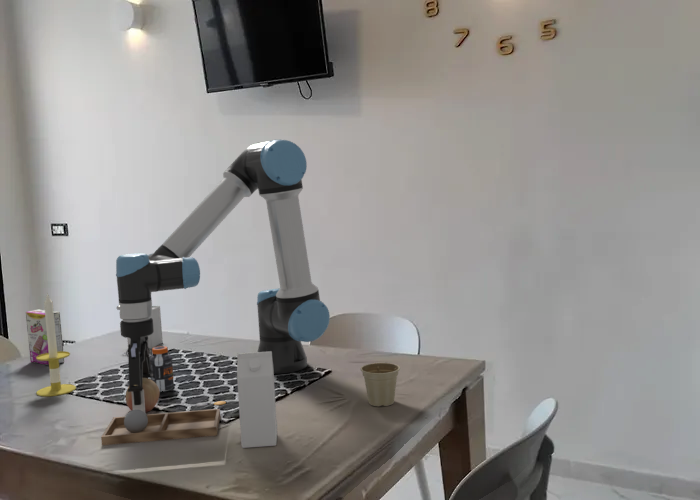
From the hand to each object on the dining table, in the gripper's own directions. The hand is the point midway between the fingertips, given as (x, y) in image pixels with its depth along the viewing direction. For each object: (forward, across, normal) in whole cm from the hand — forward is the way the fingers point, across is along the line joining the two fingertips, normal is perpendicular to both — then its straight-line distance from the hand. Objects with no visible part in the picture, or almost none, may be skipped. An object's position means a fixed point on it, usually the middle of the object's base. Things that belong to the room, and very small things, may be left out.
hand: (142, 410), depth 170 cm
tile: (0, 0, +16) cm, 16 cm away
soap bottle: (0, -71, -11) cm, 72 cm away
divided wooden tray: (0, +16, +7) cm, 18 cm away
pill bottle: (0, -18, +2) cm, 18 cm away
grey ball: (0, +16, +1) cm, 16 cm away
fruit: (0, 0, 0) cm, 1 cm away
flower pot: (0, +8, +57) cm, 58 cm away
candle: (+1, -24, -27) cm, 36 cm away
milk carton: (0, +26, +28) cm, 38 cm away
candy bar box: (+1, -57, -39) cm, 69 cm away
